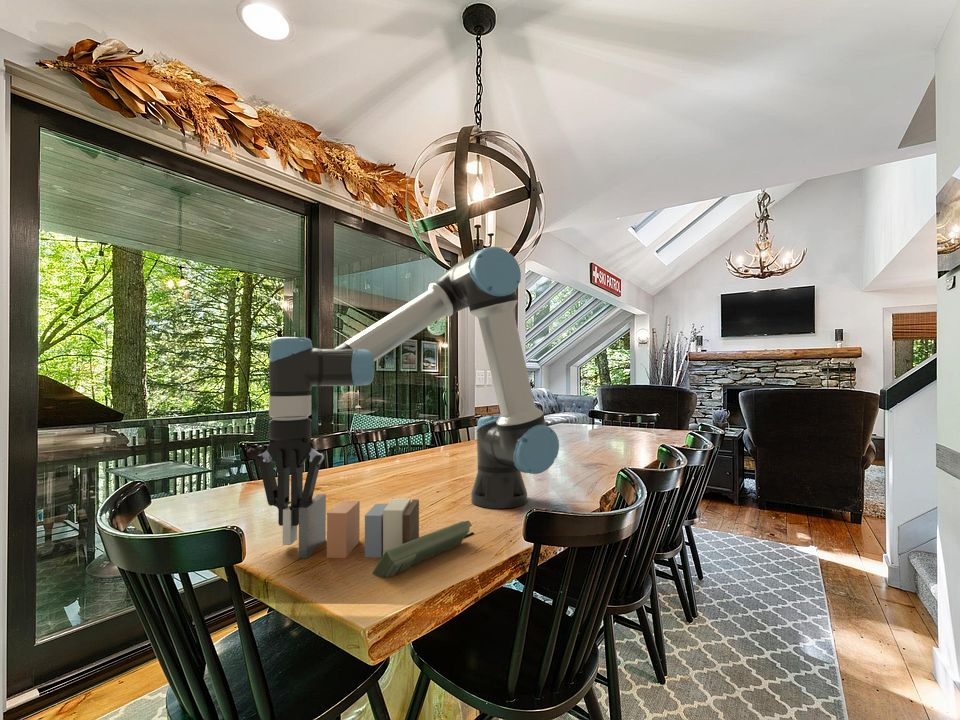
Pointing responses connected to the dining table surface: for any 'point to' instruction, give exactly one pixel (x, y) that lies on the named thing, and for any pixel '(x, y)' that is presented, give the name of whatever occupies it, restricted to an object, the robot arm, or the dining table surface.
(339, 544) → the rust book
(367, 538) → the slate book
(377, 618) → the dining table surface
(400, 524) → the cream book
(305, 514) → the bookend
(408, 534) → the dark brown block piece
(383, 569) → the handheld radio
